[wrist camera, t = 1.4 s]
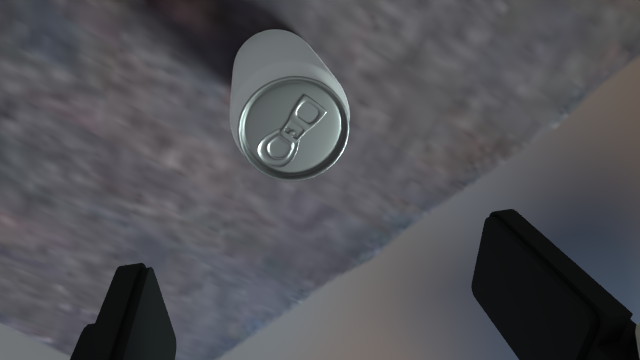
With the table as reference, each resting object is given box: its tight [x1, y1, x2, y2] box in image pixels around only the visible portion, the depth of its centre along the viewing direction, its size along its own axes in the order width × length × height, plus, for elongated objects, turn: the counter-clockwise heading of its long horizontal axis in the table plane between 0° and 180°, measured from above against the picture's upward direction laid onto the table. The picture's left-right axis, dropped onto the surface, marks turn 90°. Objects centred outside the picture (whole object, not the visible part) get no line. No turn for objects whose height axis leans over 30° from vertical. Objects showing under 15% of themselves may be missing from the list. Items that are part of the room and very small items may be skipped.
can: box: [230, 29, 350, 181], centre depth 24 cm, size 6×6×12 cm
